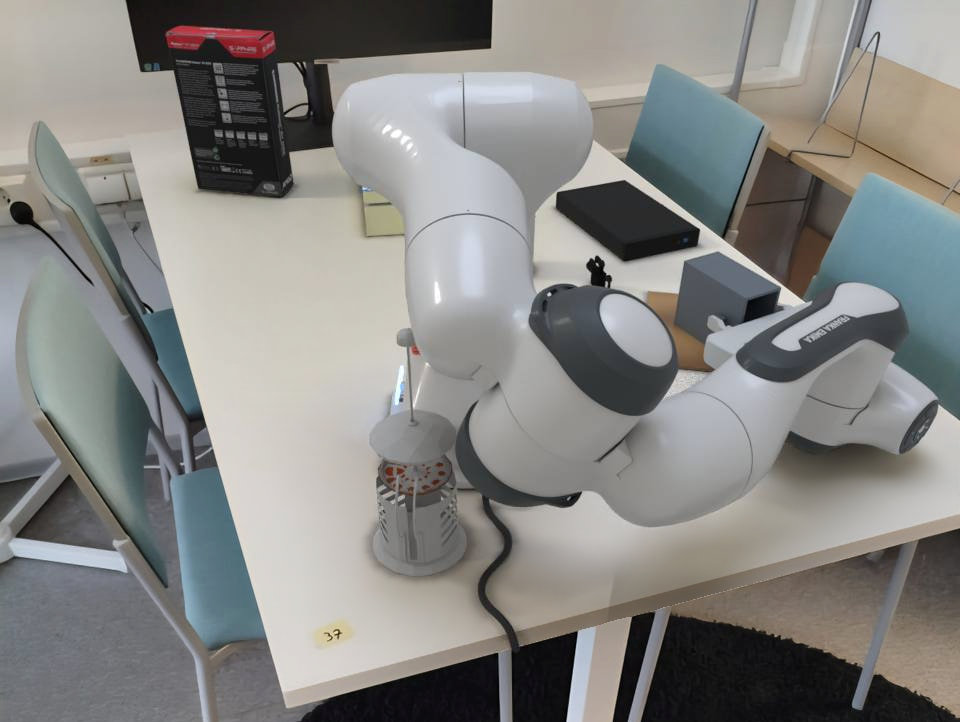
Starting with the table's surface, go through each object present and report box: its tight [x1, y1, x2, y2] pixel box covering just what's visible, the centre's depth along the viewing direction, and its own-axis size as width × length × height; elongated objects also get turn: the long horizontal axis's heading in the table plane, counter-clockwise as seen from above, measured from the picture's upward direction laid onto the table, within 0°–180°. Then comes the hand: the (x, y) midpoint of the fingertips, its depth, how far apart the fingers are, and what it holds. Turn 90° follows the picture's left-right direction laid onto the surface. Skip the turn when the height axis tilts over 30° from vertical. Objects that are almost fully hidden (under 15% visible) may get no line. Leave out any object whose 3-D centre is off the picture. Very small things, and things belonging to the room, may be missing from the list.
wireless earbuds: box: [585, 254, 613, 288], centre depth 129 cm, size 7×2×5 cm, turn 21°
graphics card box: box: [165, 25, 295, 198], centre depth 152 cm, size 17×7×27 cm, turn 80°
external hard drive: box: [555, 179, 701, 262], centre depth 147 cm, size 14×23×3 cm, turn 24°
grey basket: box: [674, 250, 782, 345], centre depth 116 cm, size 12×6×10 cm, turn 29°
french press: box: [369, 327, 468, 577], centre depth 80 cm, size 10×12×25 cm
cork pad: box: [646, 290, 715, 373], centre depth 121 cm, size 20×18×1 cm
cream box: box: [358, 186, 404, 237], centre depth 160 cm, size 45×15×10 cm, turn 8°
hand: (735, 311), depth 114 cm, fingers open, 7 cm apart
